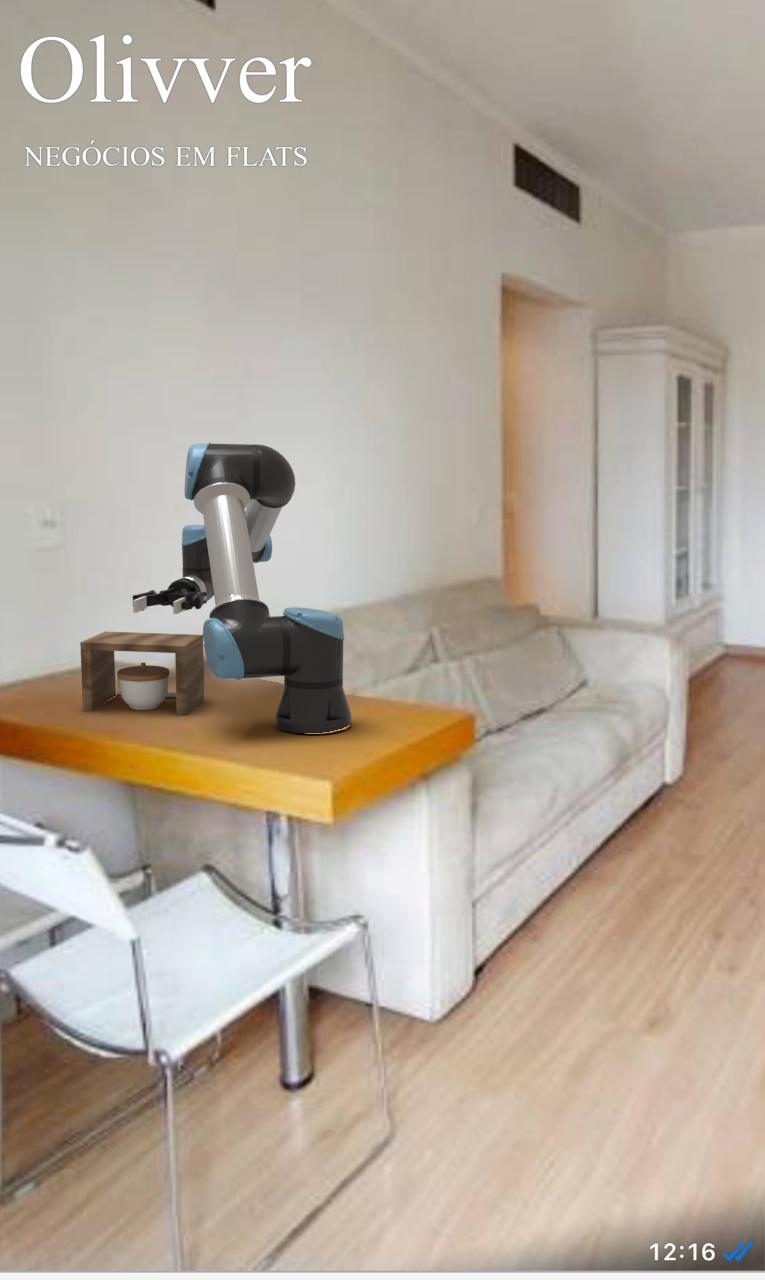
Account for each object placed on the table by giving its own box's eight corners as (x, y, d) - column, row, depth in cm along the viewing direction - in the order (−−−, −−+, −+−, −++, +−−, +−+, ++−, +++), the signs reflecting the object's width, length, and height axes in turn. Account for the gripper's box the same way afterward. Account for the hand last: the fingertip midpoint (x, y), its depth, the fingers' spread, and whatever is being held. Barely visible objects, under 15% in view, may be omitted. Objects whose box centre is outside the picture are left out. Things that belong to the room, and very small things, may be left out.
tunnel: (204, 700, 210) (203, 635, 208) (186, 715, 198) (184, 646, 195) (107, 696, 212) (104, 631, 210) (83, 710, 200) (80, 642, 197)
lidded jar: (157, 714, 198) (156, 669, 197) (109, 710, 200) (107, 666, 199) (178, 701, 209) (177, 659, 207) (132, 698, 211) (131, 656, 209)
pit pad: (200, 695, 214) (200, 693, 214) (195, 699, 211) (195, 698, 210) (122, 692, 216) (122, 690, 216) (115, 696, 212) (115, 694, 212)
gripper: (229, 610, 231) (202, 625, 209) (144, 607, 233) (108, 622, 211) (229, 579, 229) (201, 591, 207) (143, 576, 232) (107, 588, 209)
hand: (154, 607), depth 209 cm, fingers open, 8 cm apart
